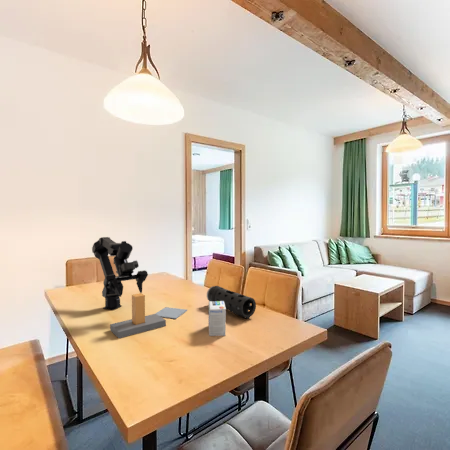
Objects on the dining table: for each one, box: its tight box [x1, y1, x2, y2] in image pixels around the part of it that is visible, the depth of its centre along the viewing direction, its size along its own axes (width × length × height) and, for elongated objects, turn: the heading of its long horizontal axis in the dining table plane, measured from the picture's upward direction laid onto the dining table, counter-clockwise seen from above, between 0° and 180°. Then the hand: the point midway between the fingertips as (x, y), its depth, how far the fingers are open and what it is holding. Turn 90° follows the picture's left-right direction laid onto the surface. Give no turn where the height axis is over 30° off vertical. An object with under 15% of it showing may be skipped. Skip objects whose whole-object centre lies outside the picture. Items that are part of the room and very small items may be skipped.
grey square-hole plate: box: [109, 313, 167, 339], centre depth 120 cm, size 10×20×2 cm, turn 129°
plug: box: [131, 292, 146, 325], centre depth 120 cm, size 4×4×14 cm
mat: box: [154, 306, 188, 320], centre depth 138 cm, size 12×12×1 cm
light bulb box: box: [208, 300, 227, 337], centre depth 118 cm, size 11×7×11 cm, turn 5°
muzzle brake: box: [206, 285, 257, 320], centre depth 141 cm, size 10×28×10 cm, turn 39°
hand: (131, 294), depth 126 cm, fingers open, 9 cm apart
